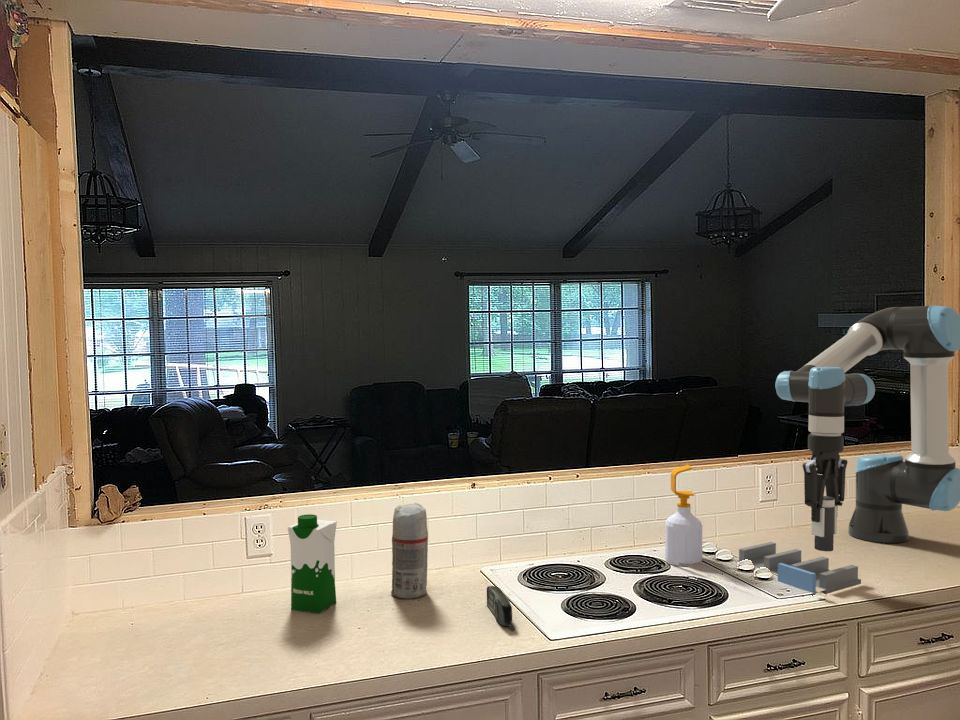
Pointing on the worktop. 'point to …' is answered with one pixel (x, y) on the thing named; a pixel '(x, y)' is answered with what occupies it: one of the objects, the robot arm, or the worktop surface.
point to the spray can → (409, 551)
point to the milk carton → (312, 564)
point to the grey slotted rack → (802, 566)
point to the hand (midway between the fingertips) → (824, 533)
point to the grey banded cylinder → (827, 526)
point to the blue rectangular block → (797, 577)
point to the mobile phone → (499, 606)
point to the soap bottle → (682, 529)
